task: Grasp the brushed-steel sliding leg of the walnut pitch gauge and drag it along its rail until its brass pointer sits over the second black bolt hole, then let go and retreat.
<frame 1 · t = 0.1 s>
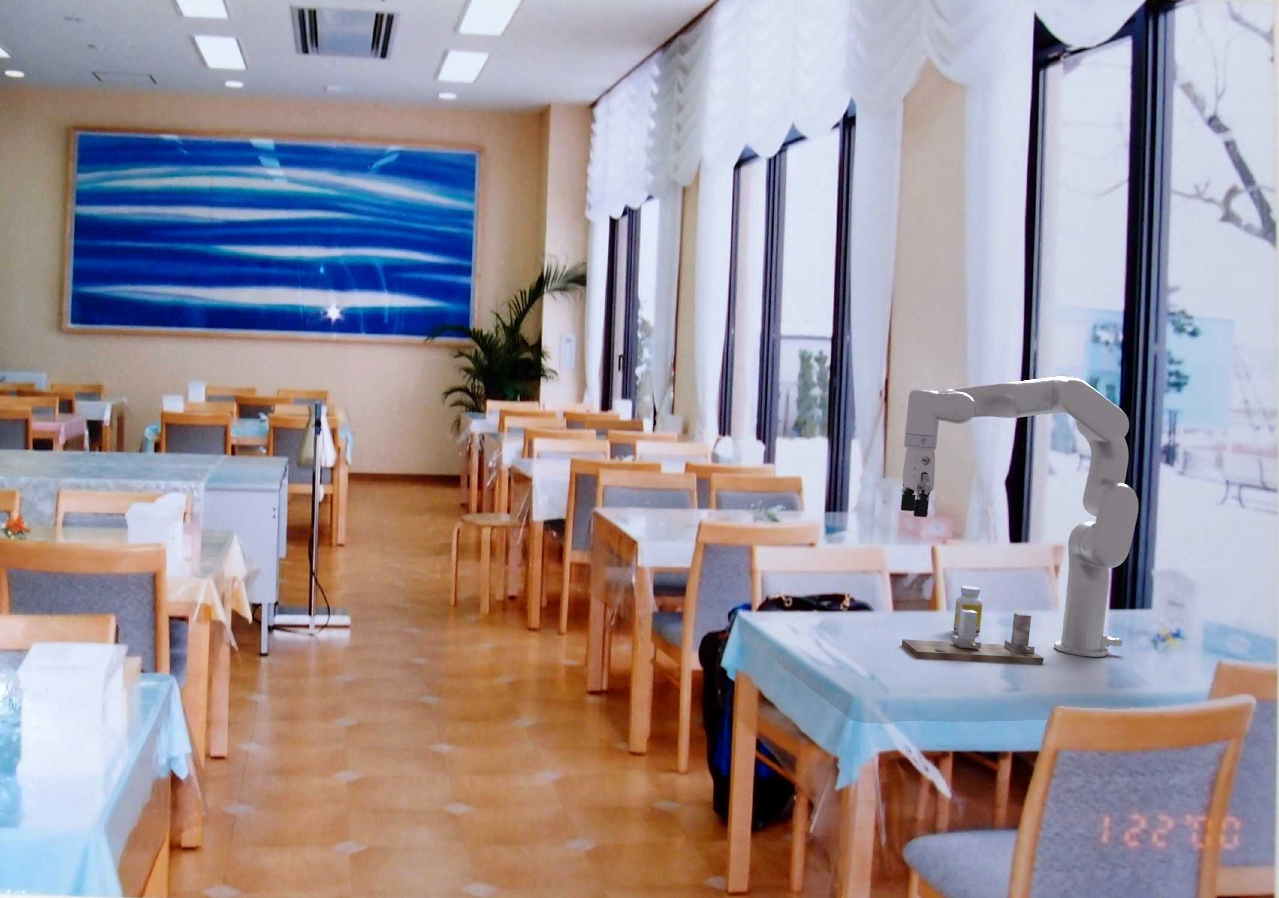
hand: (913, 513, 336), 31 cm above the table, fingers open, 9 cm apart
pill bottle: (966, 633, 356), on the table
sliding leg: (969, 629, 330), point 6 cm above the table, slide at 0.0 cm
hole gauge board: (971, 654, 331), on the table
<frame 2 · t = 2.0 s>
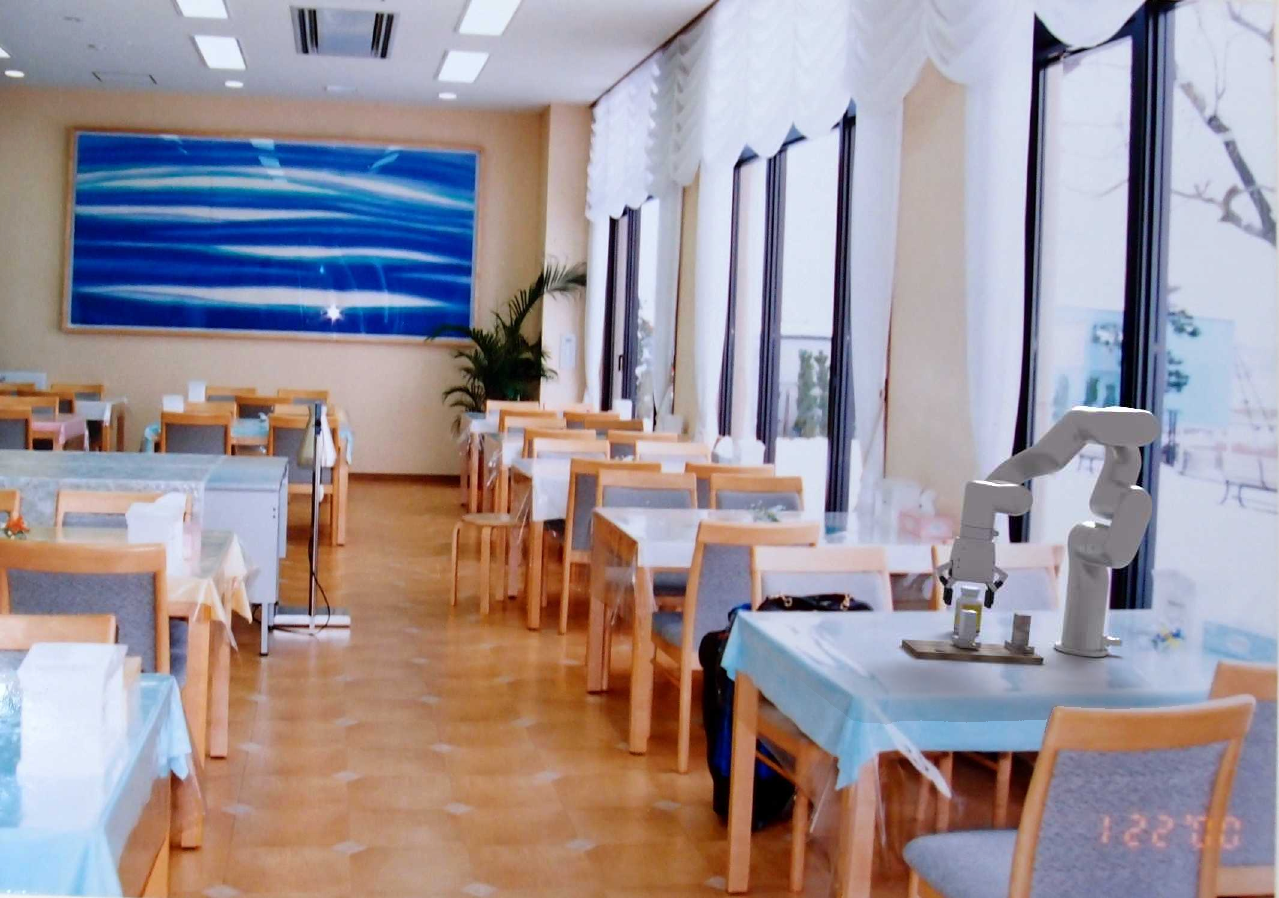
hand: (967, 605, 331), 11 cm above the table, fingers open, 9 cm apart
nothing on the table moved.
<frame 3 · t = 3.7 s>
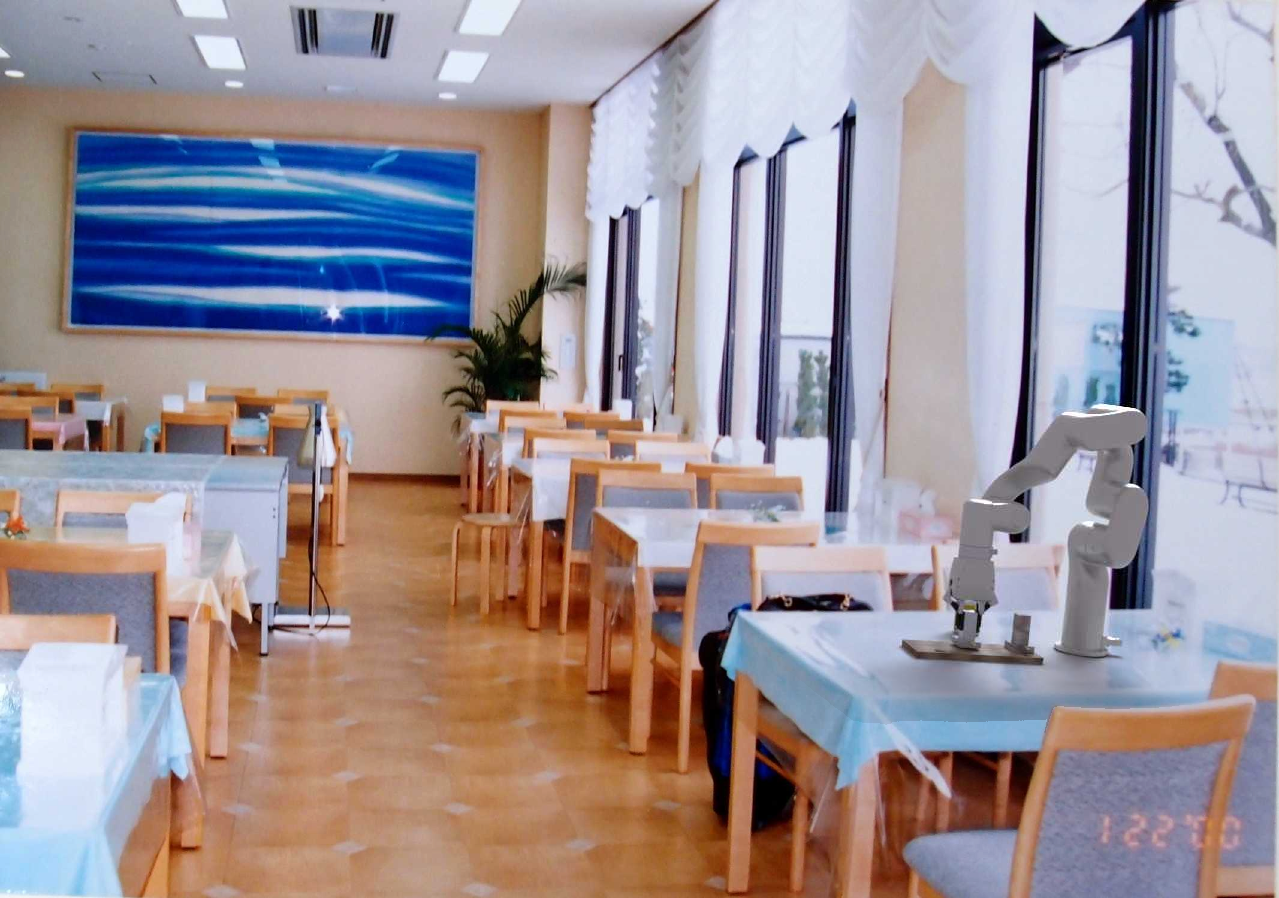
hand: (967, 629, 332), 6 cm above the table, fingers closed on sliding leg, 3 cm apart
sliding leg: (969, 629, 330), point 6 cm above the table, slide at 0.0 cm, touching gripper
everything else where it was.
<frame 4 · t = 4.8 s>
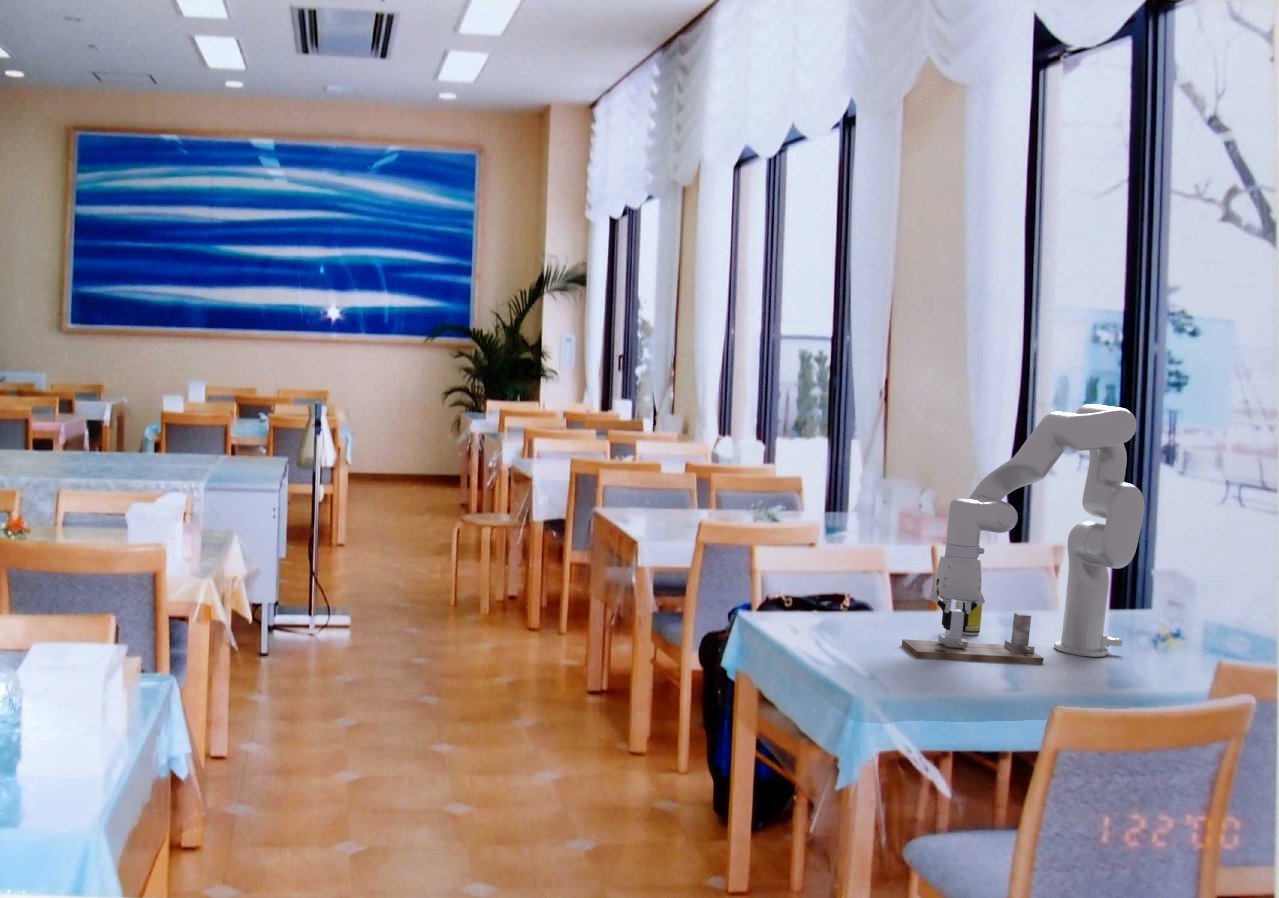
hand: (954, 628, 332), 6 cm above the table, fingers closed on sliding leg, 3 cm apart
sliding leg: (956, 628, 330), point 6 cm above the table, slide at 3.2 cm, touching gripper
everything else where it was.
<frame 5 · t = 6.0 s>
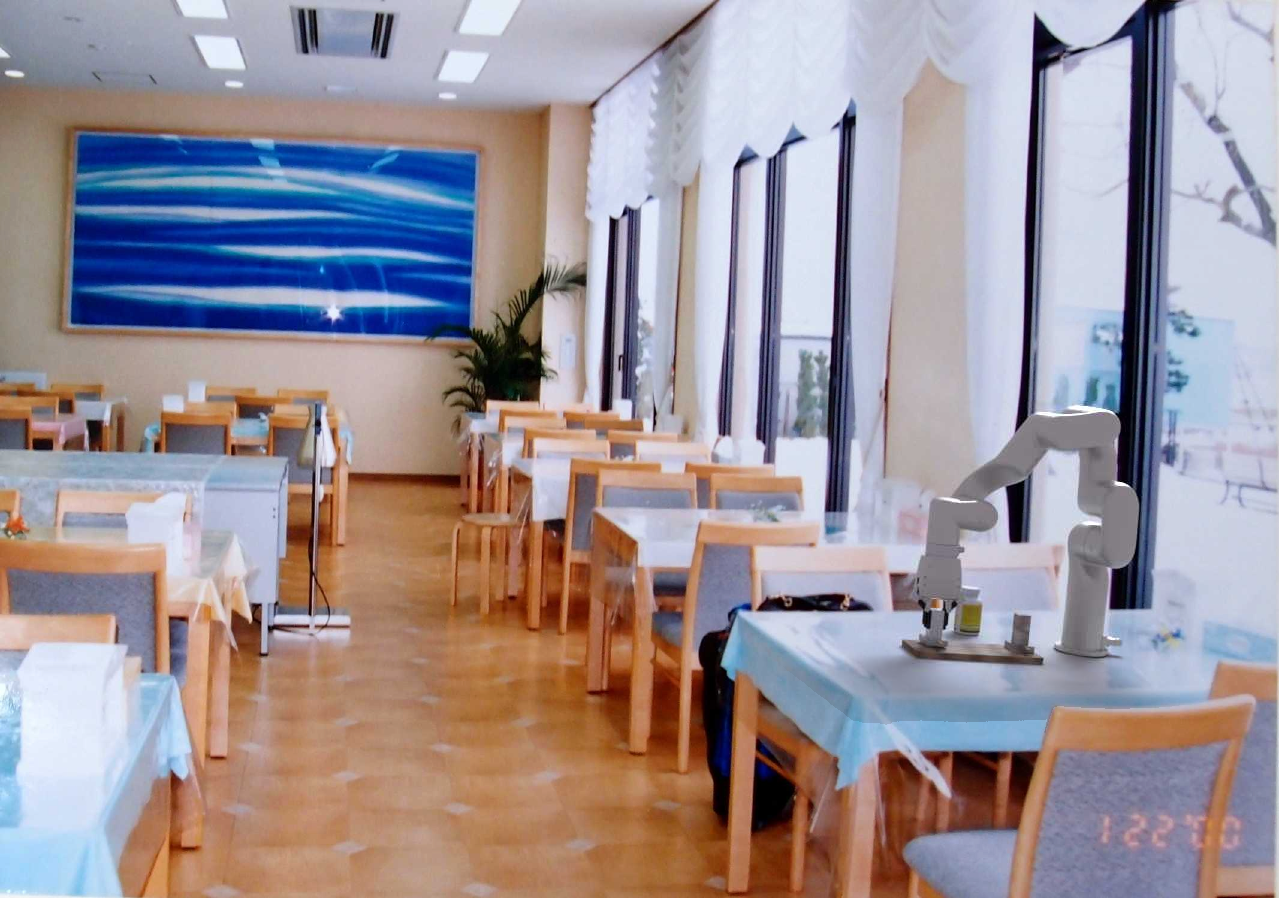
hand: (934, 627, 331), 6 cm above the table, fingers closed on sliding leg, 3 cm apart
sliding leg: (936, 627, 330), point 6 cm above the table, slide at 8.0 cm, touching gripper
everything else where it was.
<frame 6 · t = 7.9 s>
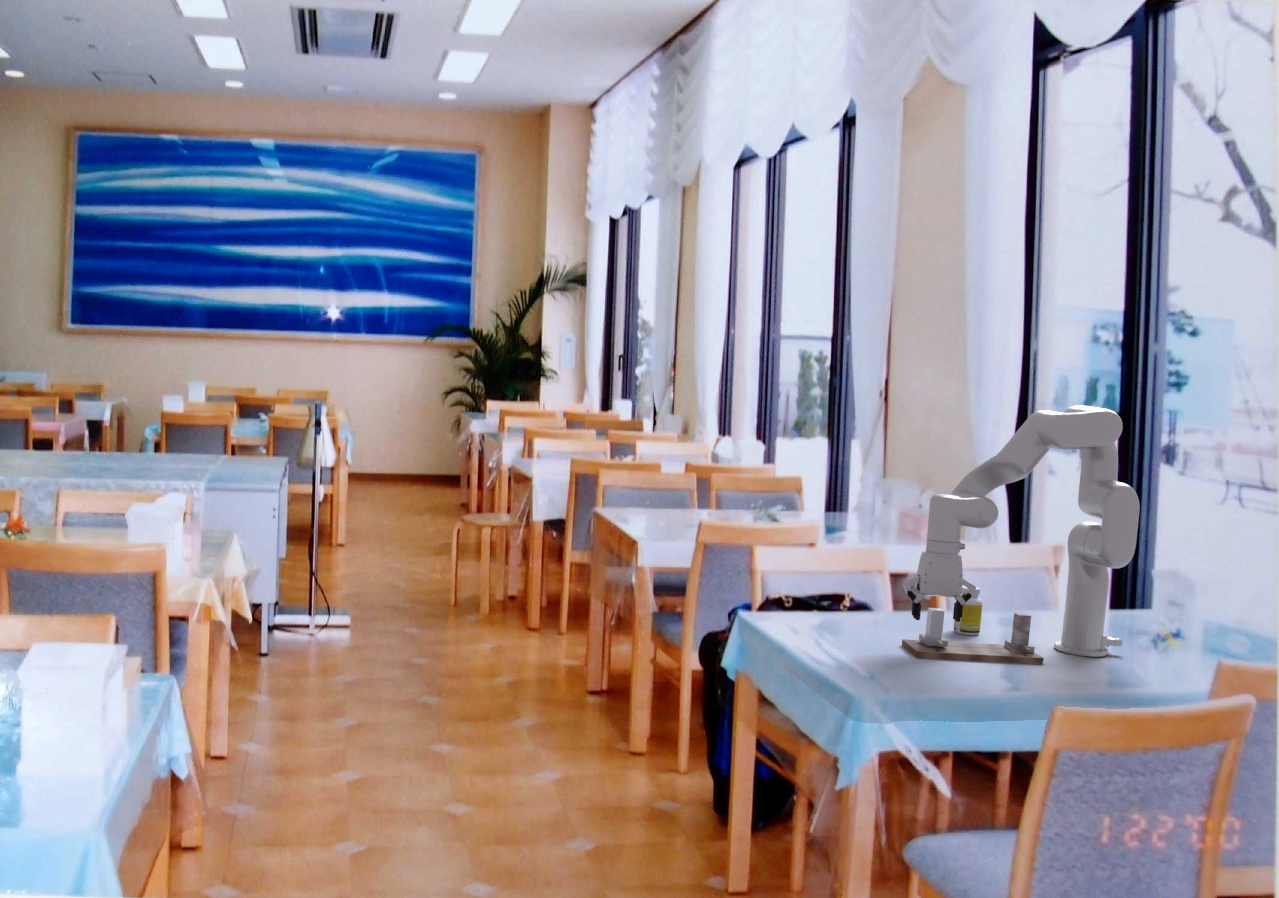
hand: (936, 619, 331), 8 cm above the table, fingers open, 9 cm apart
sliding leg: (936, 627, 330), point 6 cm above the table, slide at 8.0 cm
everything else where it was.
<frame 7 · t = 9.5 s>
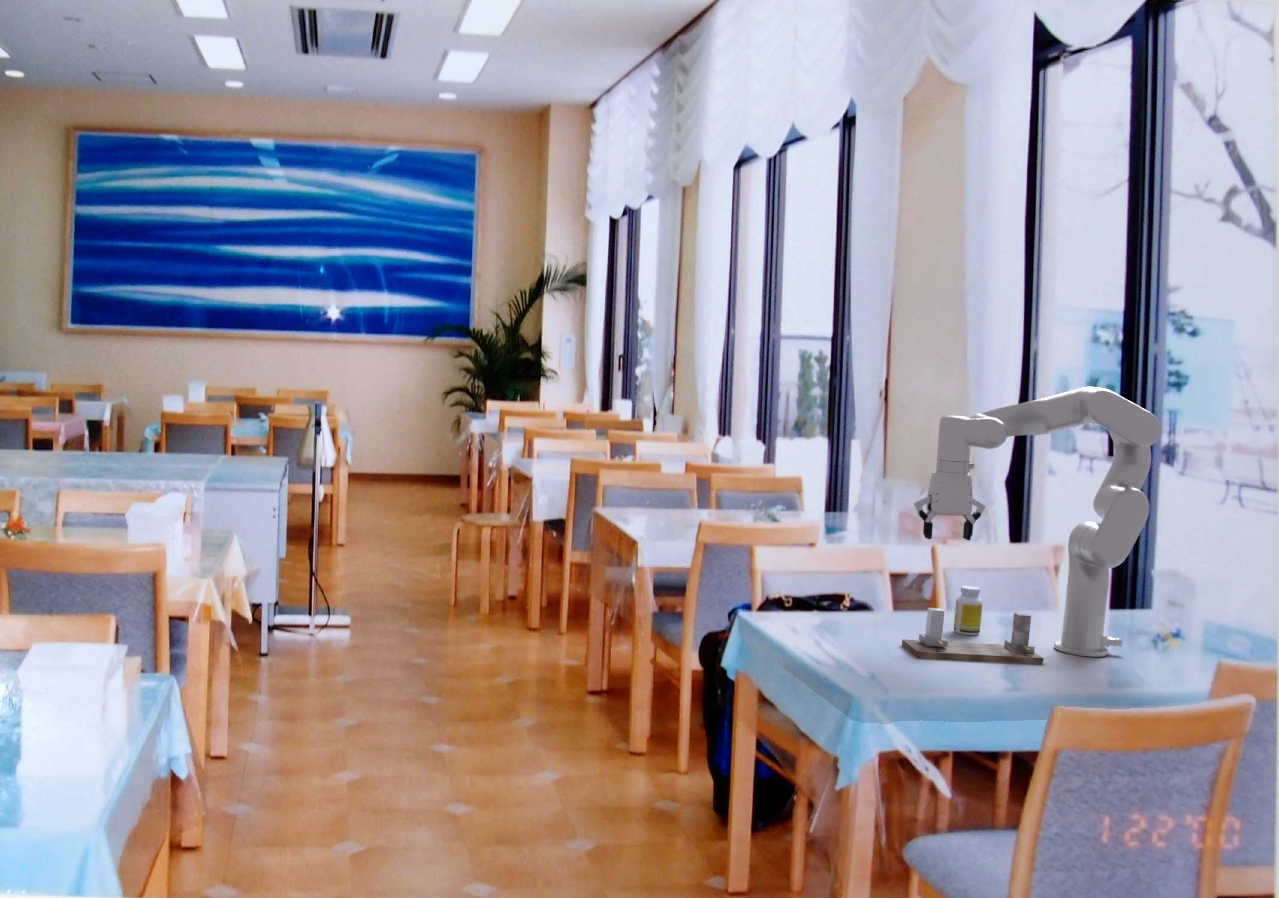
hand: (947, 538, 338), 26 cm above the table, fingers open, 9 cm apart
nothing on the table moved.
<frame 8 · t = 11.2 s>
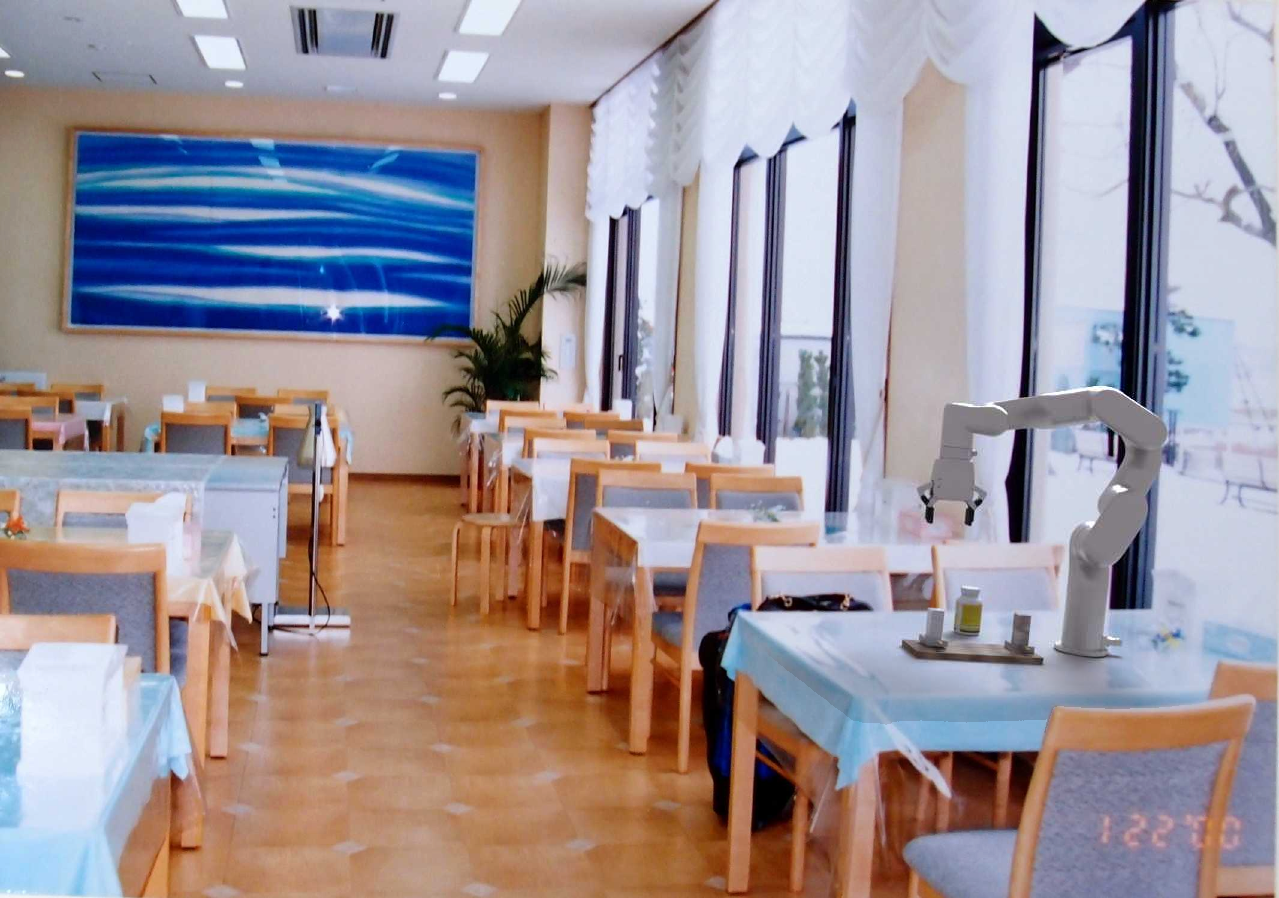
hand: (948, 524, 344), 28 cm above the table, fingers open, 9 cm apart
nothing on the table moved.
at the end: sliding leg slide at 8.0 cm; the gripper is holding nothing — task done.
